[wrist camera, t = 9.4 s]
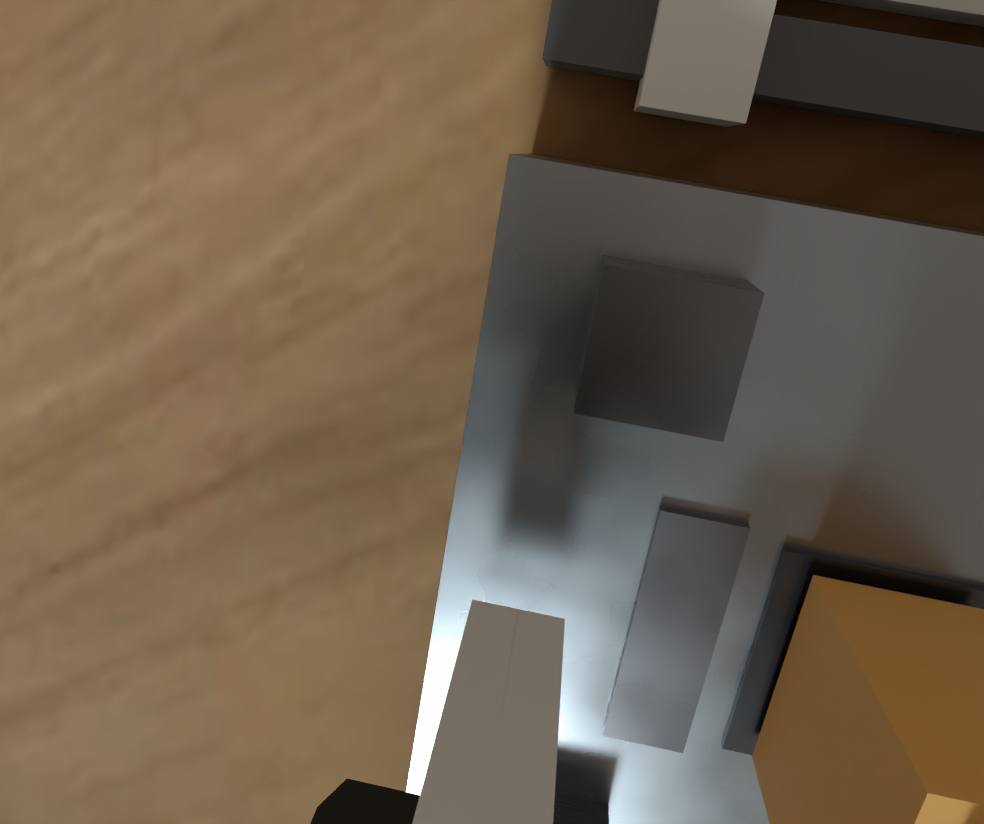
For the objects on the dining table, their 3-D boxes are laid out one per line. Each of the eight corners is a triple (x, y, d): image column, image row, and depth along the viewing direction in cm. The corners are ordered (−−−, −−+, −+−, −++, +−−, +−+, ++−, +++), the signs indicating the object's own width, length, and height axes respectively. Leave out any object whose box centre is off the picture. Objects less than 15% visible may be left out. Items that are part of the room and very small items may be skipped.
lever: (752, 756, 15) (843, 1098, 10) (812, 574, 14) (957, 851, 8) (911, 791, 15) (1096, 1160, 9) (988, 609, 14) (1252, 915, 8)
